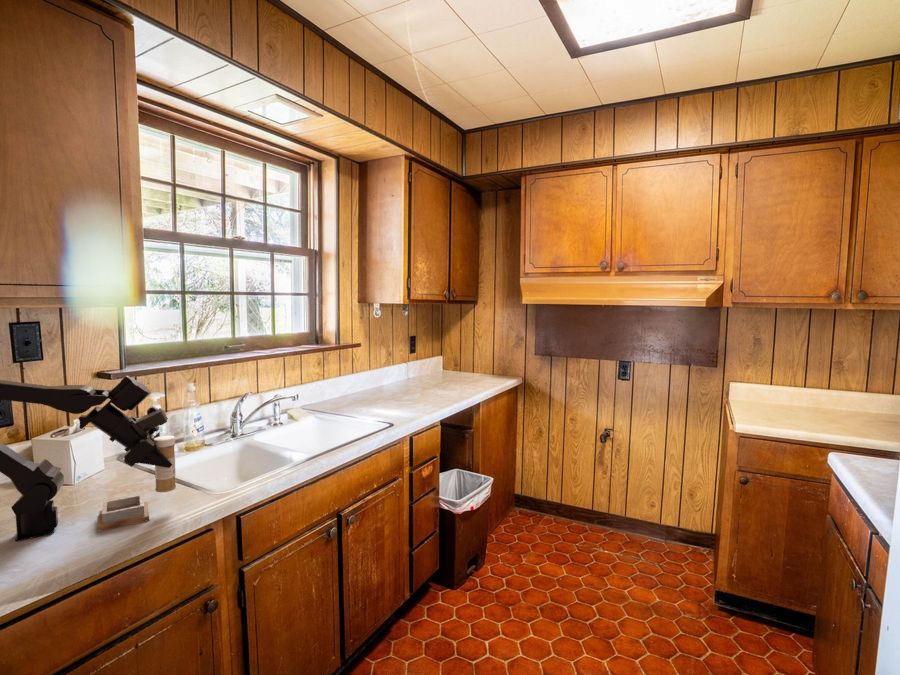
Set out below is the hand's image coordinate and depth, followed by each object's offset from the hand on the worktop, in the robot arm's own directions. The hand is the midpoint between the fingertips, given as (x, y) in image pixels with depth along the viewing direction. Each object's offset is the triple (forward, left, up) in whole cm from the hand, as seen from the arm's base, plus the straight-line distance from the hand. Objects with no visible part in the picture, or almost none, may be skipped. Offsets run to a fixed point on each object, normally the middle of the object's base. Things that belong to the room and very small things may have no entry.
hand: (171, 463), depth 120 cm
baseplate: (-10, +1, -12) cm, 16 cm away
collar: (-10, +1, -12) cm, 16 cm away
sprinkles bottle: (-1, 0, -7) cm, 7 cm away
